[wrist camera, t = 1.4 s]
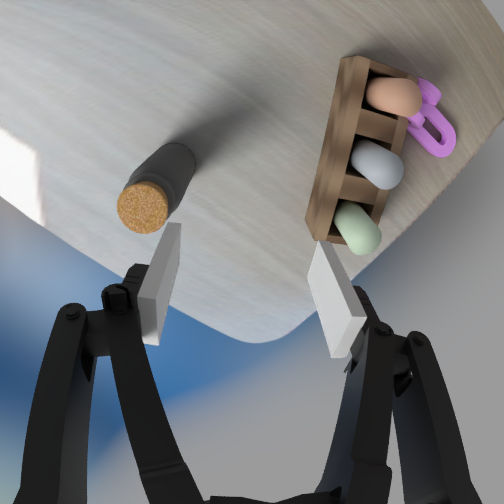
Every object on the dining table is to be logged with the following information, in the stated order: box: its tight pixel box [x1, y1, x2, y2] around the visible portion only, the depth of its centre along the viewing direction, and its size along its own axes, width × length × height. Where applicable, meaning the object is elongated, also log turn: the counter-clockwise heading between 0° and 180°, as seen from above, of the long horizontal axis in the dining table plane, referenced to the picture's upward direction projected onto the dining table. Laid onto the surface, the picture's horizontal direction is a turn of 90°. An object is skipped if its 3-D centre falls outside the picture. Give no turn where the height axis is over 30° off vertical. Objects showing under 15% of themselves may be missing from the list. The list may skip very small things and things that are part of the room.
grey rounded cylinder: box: [349, 140, 404, 190], centre depth 31 cm, size 4×4×6 cm
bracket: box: [407, 77, 456, 157], centre depth 32 cm, size 13×6×7 cm, turn 58°
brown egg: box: [364, 77, 422, 117], centre depth 27 cm, size 4×4×6 cm
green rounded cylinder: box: [333, 200, 382, 255], centre depth 35 cm, size 4×4×6 cm
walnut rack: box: [305, 55, 418, 245], centre depth 35 cm, size 23×8×6 cm, turn 171°
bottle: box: [117, 143, 195, 234], centre depth 31 cm, size 6×6×15 cm
